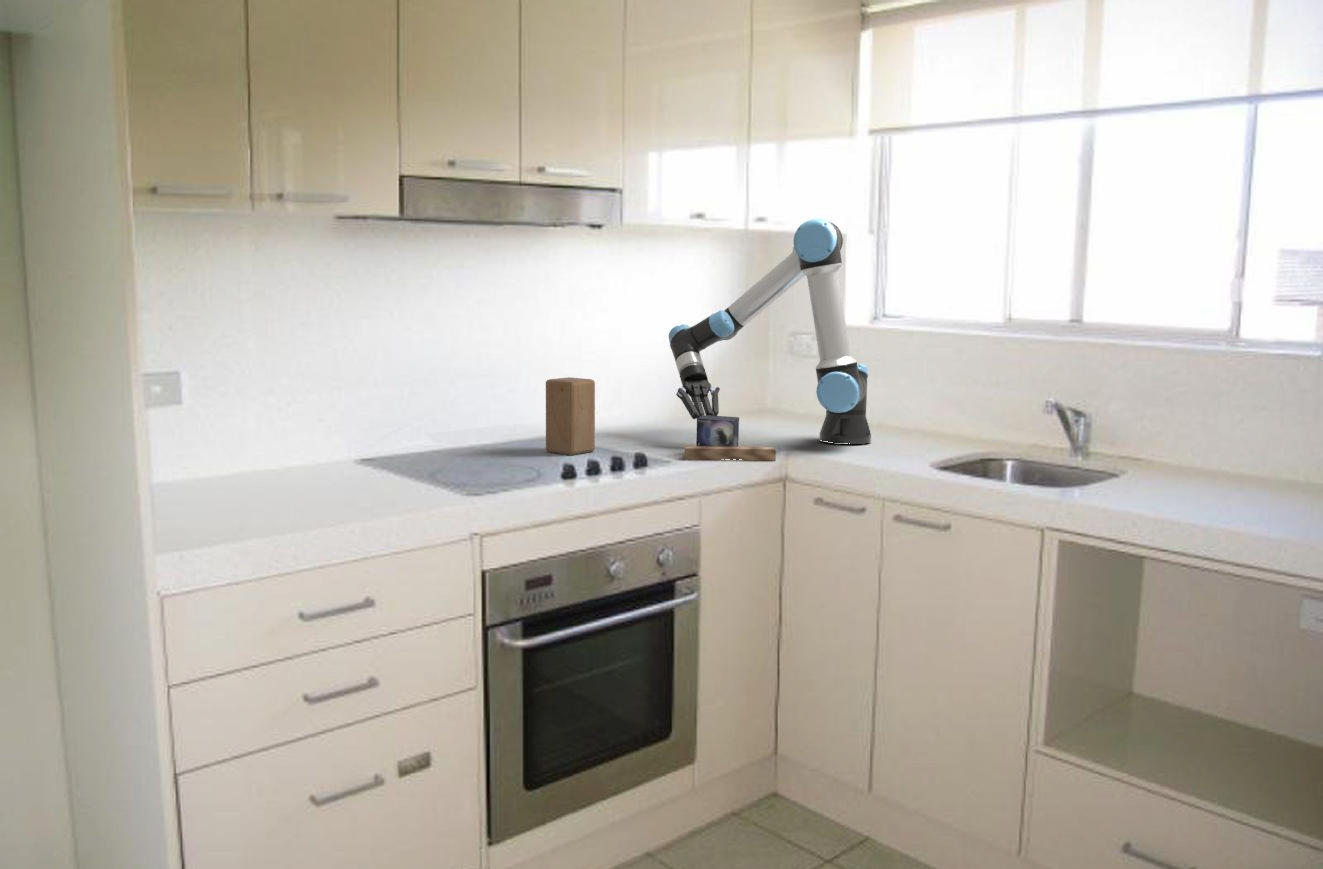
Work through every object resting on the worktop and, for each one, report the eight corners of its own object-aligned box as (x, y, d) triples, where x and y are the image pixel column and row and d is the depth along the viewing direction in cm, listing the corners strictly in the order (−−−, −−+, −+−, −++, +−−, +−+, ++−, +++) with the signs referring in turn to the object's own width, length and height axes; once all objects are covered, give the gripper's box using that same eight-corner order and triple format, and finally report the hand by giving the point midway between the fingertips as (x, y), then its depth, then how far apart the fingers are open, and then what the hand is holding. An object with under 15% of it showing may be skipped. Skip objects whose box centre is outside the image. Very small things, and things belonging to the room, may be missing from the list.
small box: (694, 456, 298) (695, 417, 297) (701, 452, 304) (702, 414, 303) (732, 458, 295) (733, 419, 293) (739, 454, 301) (739, 416, 299)
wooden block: (571, 456, 295) (571, 381, 292) (544, 452, 301) (544, 379, 298) (596, 451, 303) (596, 379, 300) (569, 448, 309) (568, 376, 306)
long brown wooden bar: (774, 460, 295) (774, 447, 295) (775, 462, 291) (775, 449, 291) (684, 458, 295) (684, 445, 295) (684, 461, 291) (684, 448, 291)
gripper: (709, 379, 323) (730, 444, 310) (667, 380, 319) (686, 445, 306) (716, 362, 317) (737, 427, 304) (673, 363, 313) (693, 429, 300)
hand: (712, 436), depth 305 cm, fingers closed
